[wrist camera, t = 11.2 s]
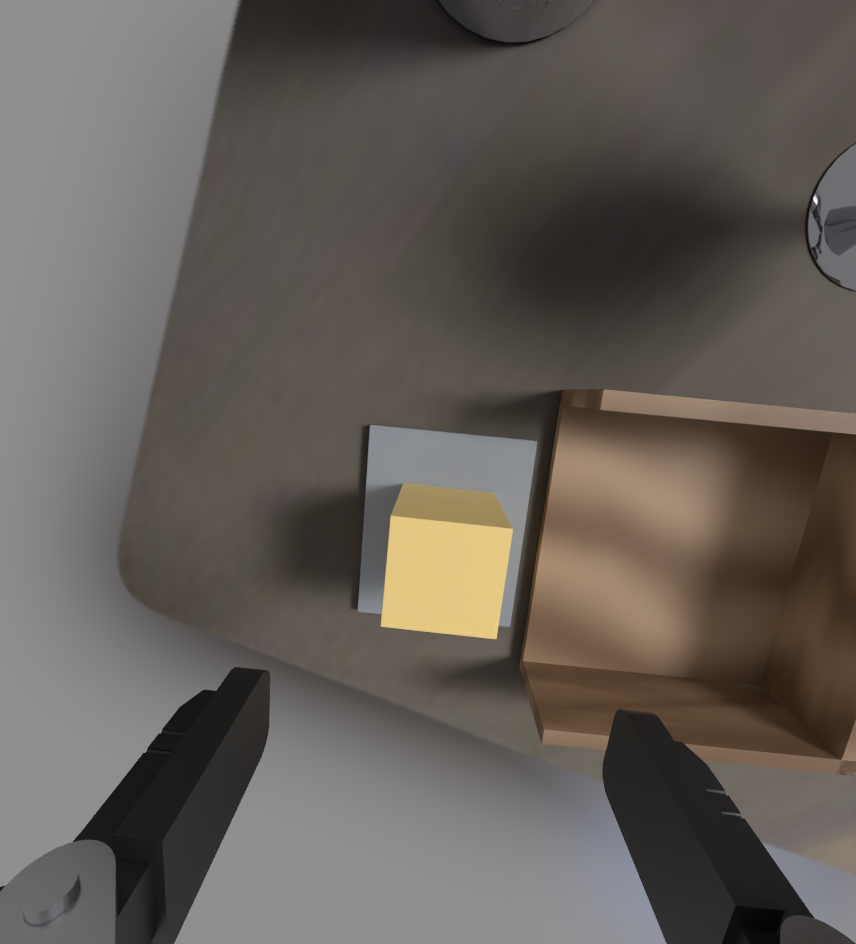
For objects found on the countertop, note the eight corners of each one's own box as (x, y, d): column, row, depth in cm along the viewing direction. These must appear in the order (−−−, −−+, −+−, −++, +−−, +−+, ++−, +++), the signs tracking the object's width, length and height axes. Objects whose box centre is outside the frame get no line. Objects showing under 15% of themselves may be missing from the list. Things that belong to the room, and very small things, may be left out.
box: (562, 389, 22) (603, 389, 16) (841, 416, 22) (978, 425, 16) (519, 666, 25) (541, 743, 20) (762, 690, 25) (853, 776, 19)
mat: (371, 424, 22) (370, 425, 22) (535, 440, 22) (537, 441, 22) (358, 608, 25) (357, 611, 24) (508, 623, 24) (509, 627, 24)
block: (403, 483, 23) (390, 515, 17) (493, 492, 23) (513, 528, 17) (395, 567, 24) (380, 626, 18) (482, 576, 24) (496, 639, 18)
